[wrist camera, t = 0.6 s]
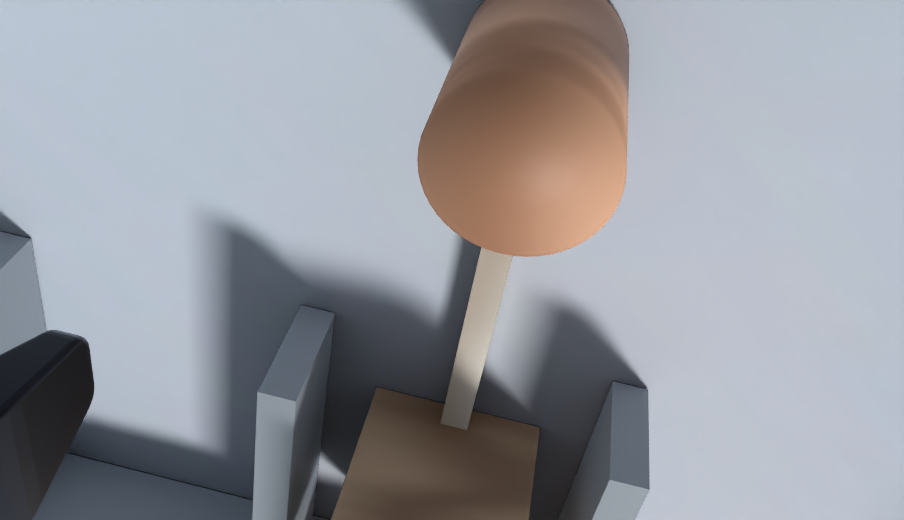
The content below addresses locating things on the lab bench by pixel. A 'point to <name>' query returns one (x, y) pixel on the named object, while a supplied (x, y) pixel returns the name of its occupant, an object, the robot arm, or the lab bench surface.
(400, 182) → the lab bench surface
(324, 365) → the shelf lane
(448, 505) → the brown elongated piece
